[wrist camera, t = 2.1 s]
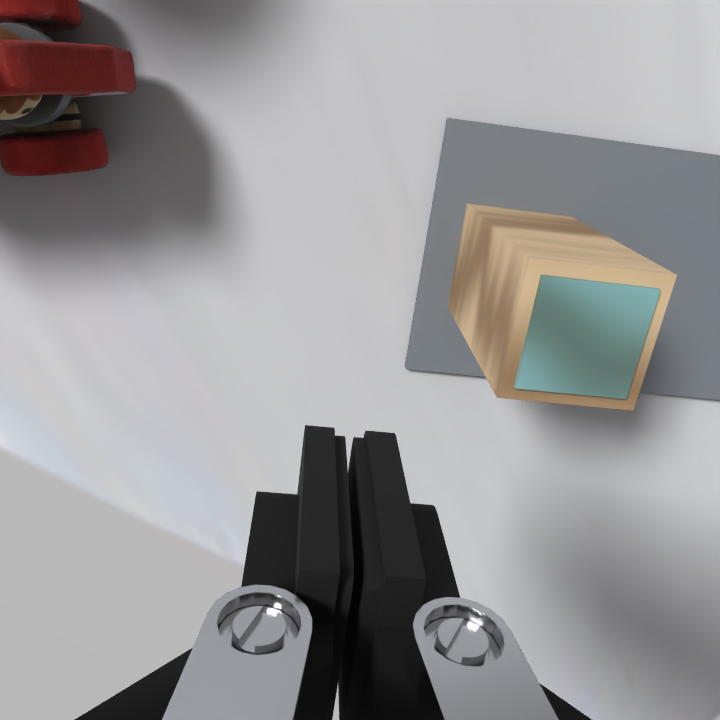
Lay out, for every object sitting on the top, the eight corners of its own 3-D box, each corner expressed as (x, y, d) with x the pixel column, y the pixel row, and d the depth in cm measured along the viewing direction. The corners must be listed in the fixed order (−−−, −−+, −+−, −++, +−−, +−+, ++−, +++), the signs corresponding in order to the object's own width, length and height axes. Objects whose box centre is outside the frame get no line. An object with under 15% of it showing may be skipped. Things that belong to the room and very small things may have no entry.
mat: (446, 118, 29) (448, 118, 29) (823, 169, 31) (829, 170, 31) (404, 366, 34) (405, 369, 33) (734, 398, 36) (739, 401, 35)
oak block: (466, 203, 30) (531, 259, 21) (571, 216, 31) (680, 276, 21) (447, 306, 32) (498, 400, 23) (546, 317, 33) (635, 413, 23)
